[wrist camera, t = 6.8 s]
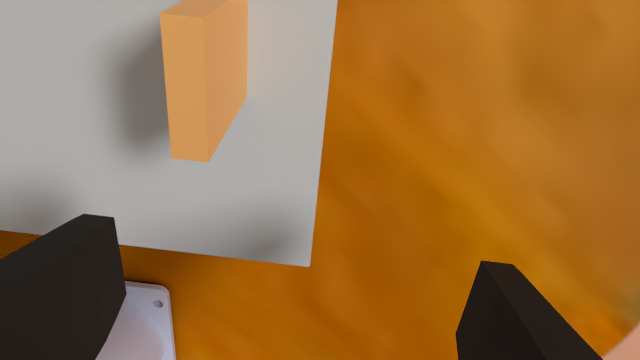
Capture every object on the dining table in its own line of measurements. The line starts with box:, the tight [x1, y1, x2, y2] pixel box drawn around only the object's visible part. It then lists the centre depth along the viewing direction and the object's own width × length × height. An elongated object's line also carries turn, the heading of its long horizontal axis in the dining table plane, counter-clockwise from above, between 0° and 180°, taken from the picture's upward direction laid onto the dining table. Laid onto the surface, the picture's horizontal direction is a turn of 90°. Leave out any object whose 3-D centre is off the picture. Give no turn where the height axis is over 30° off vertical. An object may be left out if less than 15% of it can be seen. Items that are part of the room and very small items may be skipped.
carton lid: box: [0, 0, 338, 267], centre depth 11 cm, size 15×14×4 cm
